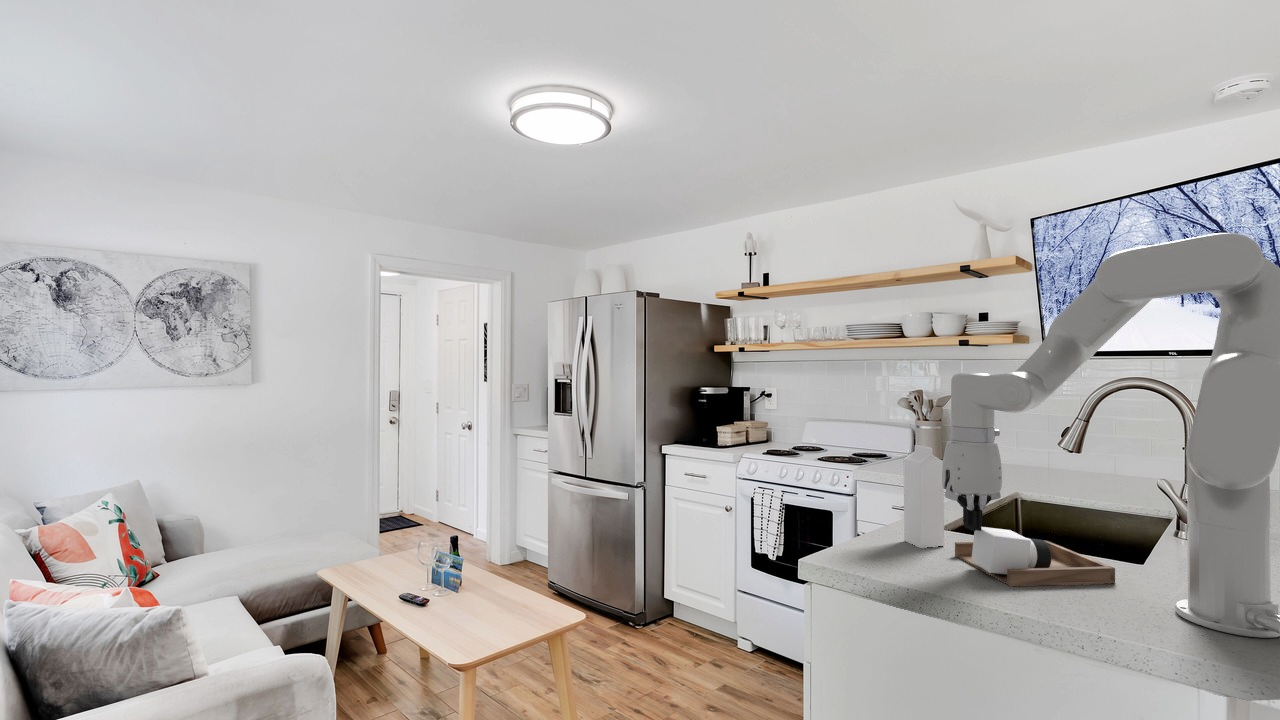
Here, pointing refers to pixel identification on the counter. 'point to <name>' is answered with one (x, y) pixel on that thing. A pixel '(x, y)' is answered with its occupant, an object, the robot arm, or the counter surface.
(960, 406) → the robot arm
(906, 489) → the milk
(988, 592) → the counter surface
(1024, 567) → the medicine bottle
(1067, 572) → the walnut tray
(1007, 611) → the counter surface
